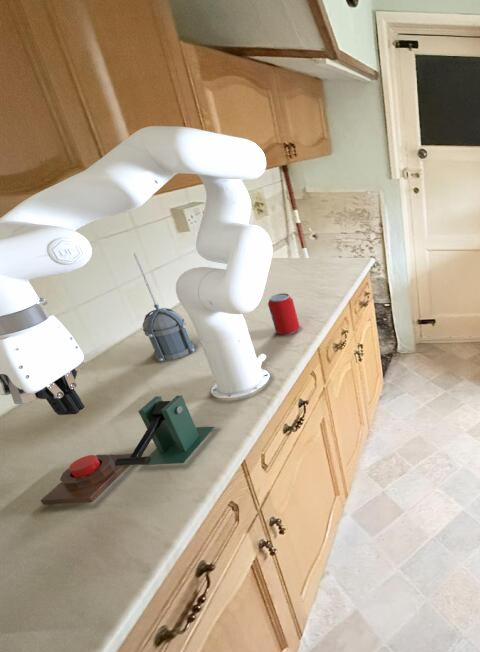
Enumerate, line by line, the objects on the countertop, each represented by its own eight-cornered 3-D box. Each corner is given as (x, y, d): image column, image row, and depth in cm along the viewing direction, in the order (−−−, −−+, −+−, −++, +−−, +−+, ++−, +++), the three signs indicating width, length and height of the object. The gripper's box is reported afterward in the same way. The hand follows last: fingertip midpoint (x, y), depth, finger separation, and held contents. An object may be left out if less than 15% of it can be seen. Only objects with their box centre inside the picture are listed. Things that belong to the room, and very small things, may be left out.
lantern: (206, 342, 120) (170, 246, 107) (181, 362, 110) (138, 259, 97) (170, 342, 119) (130, 247, 107) (141, 362, 110) (93, 259, 97)
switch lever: (150, 466, 71) (141, 461, 69) (120, 468, 70) (111, 462, 69) (184, 406, 79) (177, 400, 77) (158, 407, 79) (150, 401, 77)
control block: (96, 463, 78) (87, 448, 76) (139, 461, 78) (131, 446, 77) (46, 509, 69) (34, 492, 67) (95, 506, 69) (85, 490, 68)
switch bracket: (186, 467, 77) (163, 419, 72) (142, 469, 77) (117, 421, 72) (216, 430, 86) (199, 386, 81) (178, 432, 86) (157, 387, 81)
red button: (85, 462, 73) (81, 455, 73) (106, 461, 74) (102, 454, 73) (67, 478, 70) (62, 471, 69) (88, 477, 70) (84, 470, 70)
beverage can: (285, 325, 130) (276, 291, 125) (304, 326, 129) (296, 293, 124) (271, 335, 124) (261, 300, 119) (291, 336, 123) (281, 302, 118)
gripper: (33, 298, 67) (87, 385, 75) (-78, 346, 53) (2, 445, 62) (81, 297, 67) (128, 383, 75) (-18, 344, 54) (53, 443, 62)
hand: (71, 411), depth 69 cm, fingers closed
